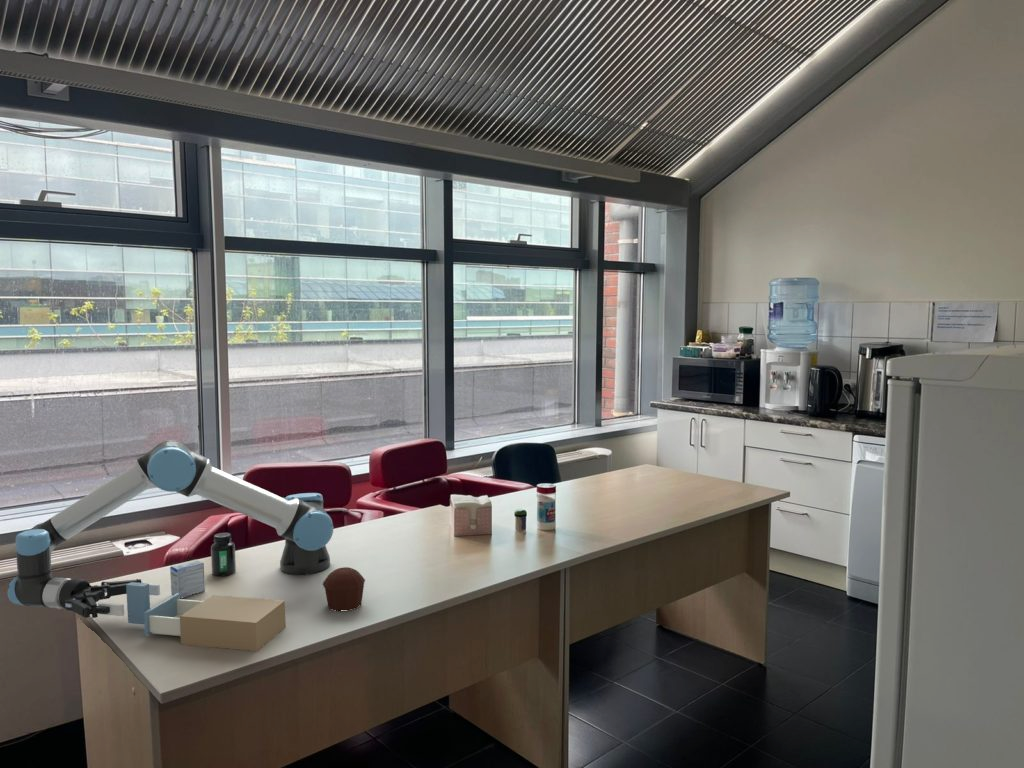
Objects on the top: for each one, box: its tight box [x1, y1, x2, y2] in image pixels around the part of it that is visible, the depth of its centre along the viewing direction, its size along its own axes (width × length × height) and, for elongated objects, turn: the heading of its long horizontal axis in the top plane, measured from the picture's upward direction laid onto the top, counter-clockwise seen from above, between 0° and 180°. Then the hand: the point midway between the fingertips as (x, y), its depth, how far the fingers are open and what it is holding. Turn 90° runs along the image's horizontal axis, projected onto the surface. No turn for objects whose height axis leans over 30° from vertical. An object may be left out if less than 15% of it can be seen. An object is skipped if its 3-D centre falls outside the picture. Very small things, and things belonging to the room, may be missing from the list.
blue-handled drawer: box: [126, 582, 204, 637], centre depth 192 cm, size 29×13×10 cm, turn 79°
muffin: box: [322, 566, 366, 612], centre depth 209 cm, size 12×11×10 cm
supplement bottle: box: [210, 532, 237, 577], centre depth 234 cm, size 7×7×12 cm
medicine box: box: [169, 559, 206, 599], centre depth 217 cm, size 8×4×9 cm, turn 141°
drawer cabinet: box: [180, 594, 287, 652], centre depth 189 cm, size 20×14×7 cm
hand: (141, 599), depth 194 cm, fingers open, 13 cm apart
